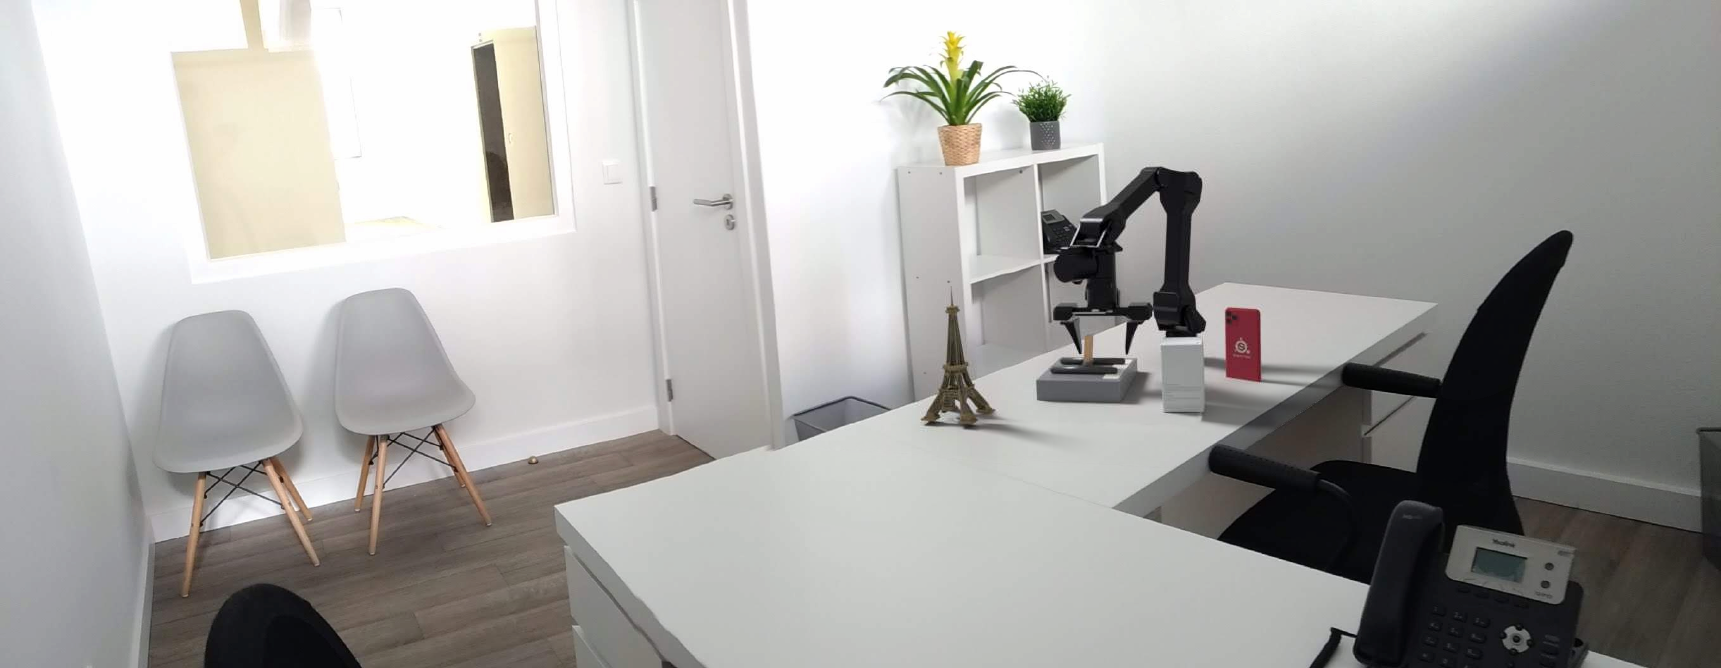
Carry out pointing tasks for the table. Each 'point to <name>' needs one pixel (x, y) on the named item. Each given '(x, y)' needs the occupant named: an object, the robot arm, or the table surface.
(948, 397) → the eiffel tower
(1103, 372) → the breaker panel
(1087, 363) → the breaker lever
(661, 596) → the table surface
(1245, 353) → the smartphone
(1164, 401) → the supplement box
